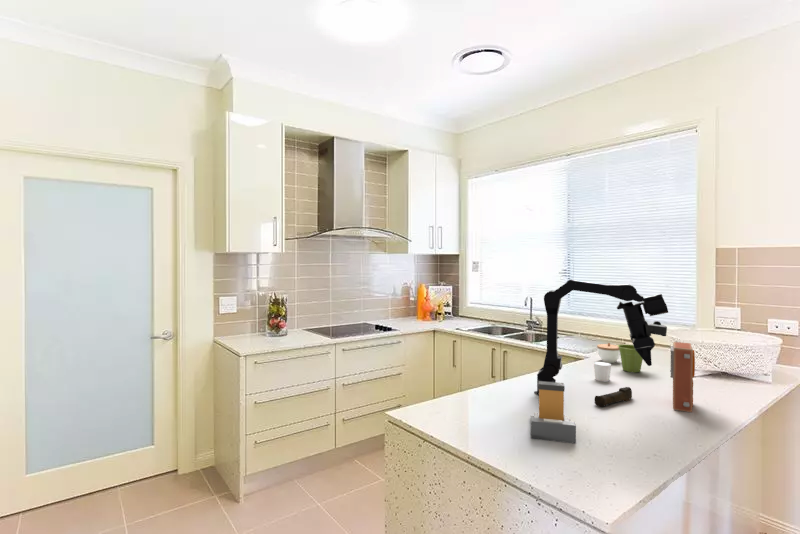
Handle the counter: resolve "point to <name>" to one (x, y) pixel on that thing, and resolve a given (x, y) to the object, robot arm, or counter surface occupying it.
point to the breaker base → (553, 429)
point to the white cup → (602, 371)
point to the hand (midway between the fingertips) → (648, 362)
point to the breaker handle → (551, 400)
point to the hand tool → (614, 397)
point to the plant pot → (630, 358)
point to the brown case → (682, 375)
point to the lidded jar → (608, 352)
